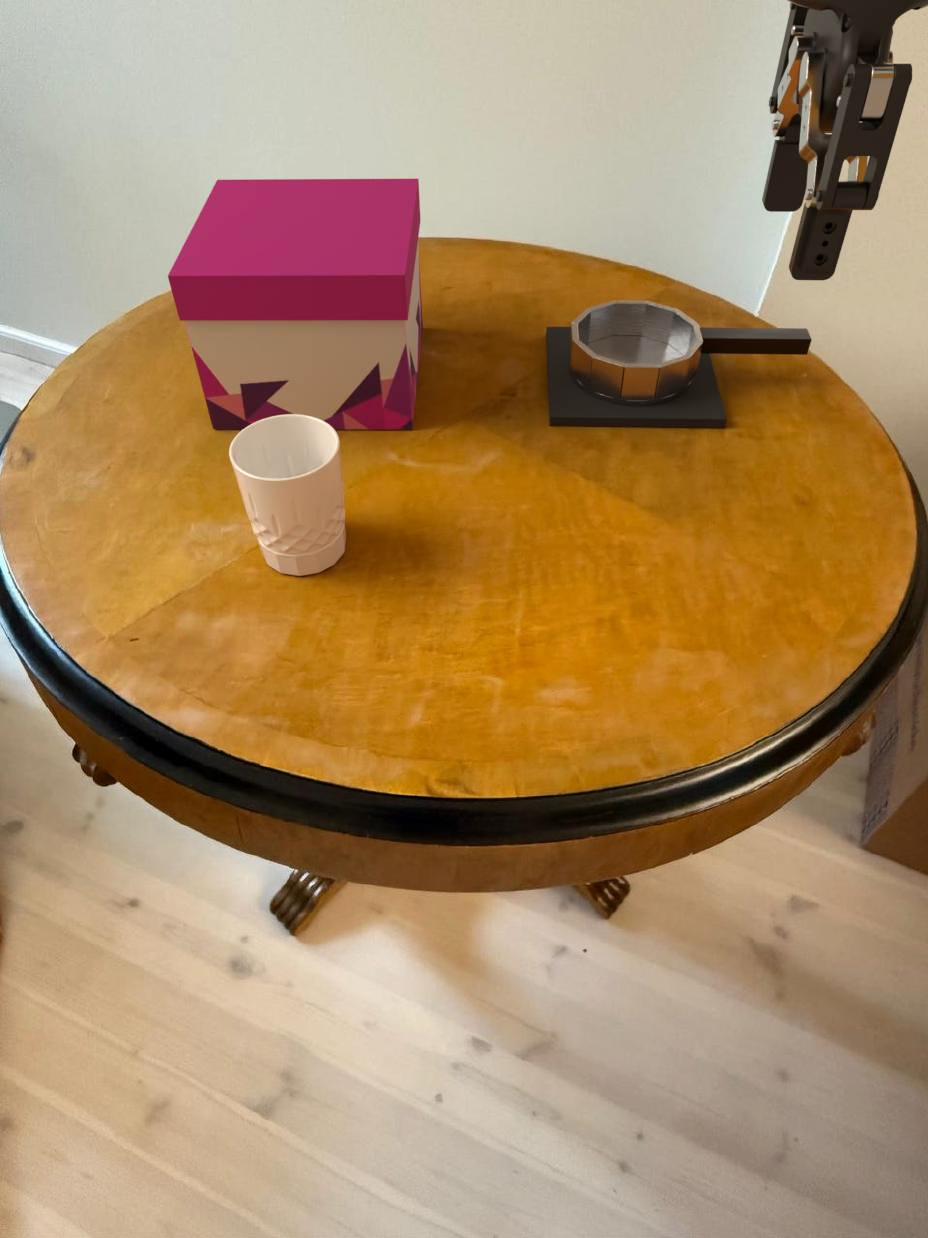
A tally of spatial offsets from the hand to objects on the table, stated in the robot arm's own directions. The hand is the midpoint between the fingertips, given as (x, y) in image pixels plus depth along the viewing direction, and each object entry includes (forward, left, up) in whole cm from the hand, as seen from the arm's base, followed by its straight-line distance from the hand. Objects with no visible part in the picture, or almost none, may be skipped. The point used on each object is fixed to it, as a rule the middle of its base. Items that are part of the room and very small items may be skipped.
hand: (793, 240), depth 50 cm
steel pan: (-1, -27, -25) cm, 37 cm away
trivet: (+4, -27, -26) cm, 38 cm away
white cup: (+32, -2, -26) cm, 41 cm away
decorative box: (+34, -27, -26) cm, 51 cm away
